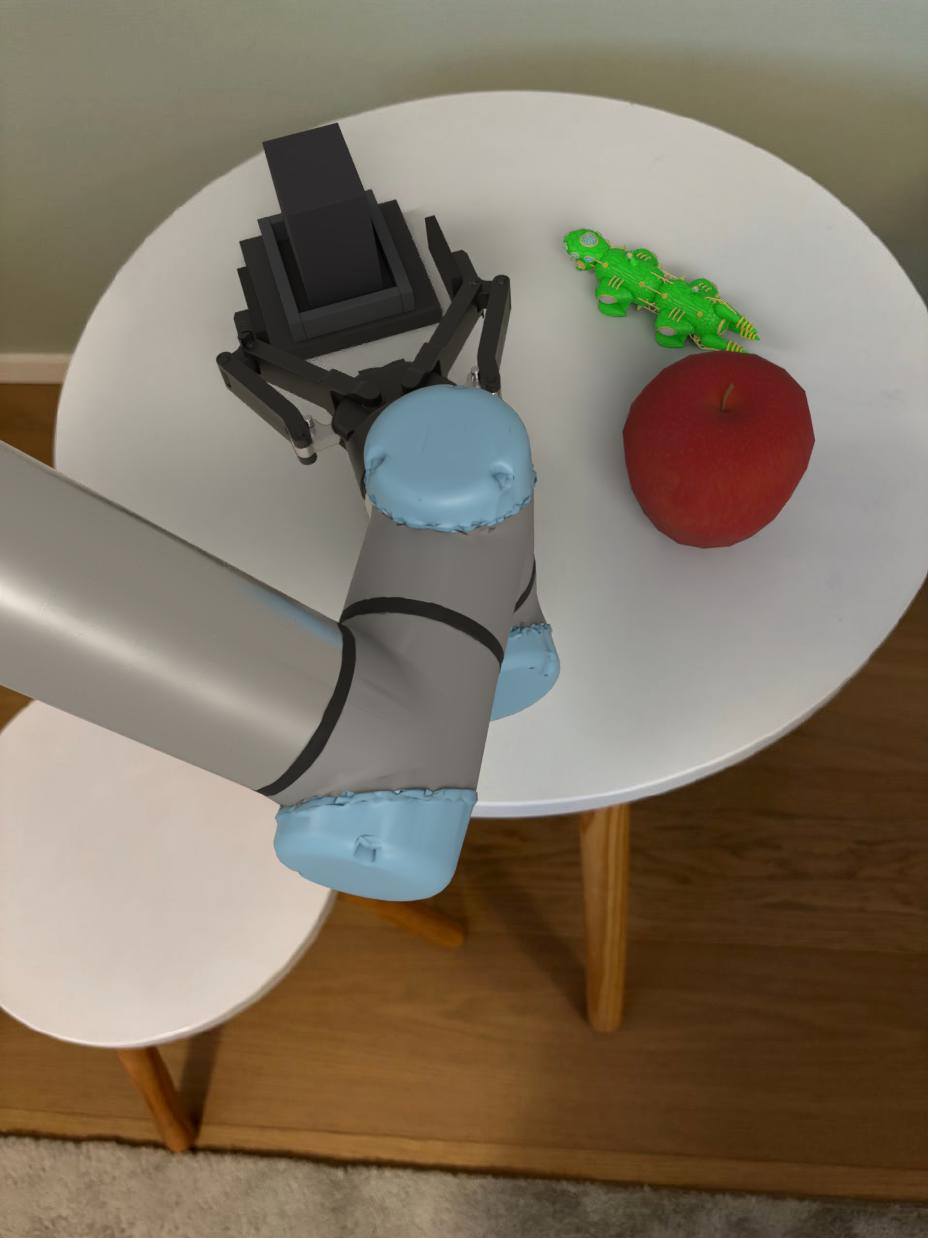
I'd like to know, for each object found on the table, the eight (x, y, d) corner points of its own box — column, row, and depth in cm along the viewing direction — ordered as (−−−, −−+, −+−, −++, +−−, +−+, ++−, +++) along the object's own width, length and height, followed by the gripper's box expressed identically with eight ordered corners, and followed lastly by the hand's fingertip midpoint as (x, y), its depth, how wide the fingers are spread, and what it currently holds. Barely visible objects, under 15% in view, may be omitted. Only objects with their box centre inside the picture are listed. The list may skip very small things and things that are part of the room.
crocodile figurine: (590, 241, 87) (591, 198, 83) (774, 336, 80) (785, 293, 77) (540, 286, 85) (539, 243, 81) (725, 387, 78) (734, 346, 74)
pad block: (314, 319, 83) (286, 215, 74) (290, 247, 87) (261, 141, 79) (386, 299, 83) (366, 194, 75) (359, 228, 88) (337, 121, 79)
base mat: (275, 368, 83) (265, 336, 80) (243, 254, 90) (232, 221, 87) (443, 321, 84) (439, 287, 81) (398, 213, 91) (393, 178, 88)
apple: (727, 425, 76) (757, 285, 65) (823, 539, 71) (876, 408, 59) (585, 490, 74) (590, 358, 63) (673, 613, 69) (697, 493, 57)
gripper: (239, 574, 65) (184, 342, 76) (612, 463, 67) (508, 253, 78) (204, 504, 59) (149, 261, 69) (618, 384, 61) (504, 165, 71)
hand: (339, 256), depth 73 cm, fingers open, 13 cm apart
